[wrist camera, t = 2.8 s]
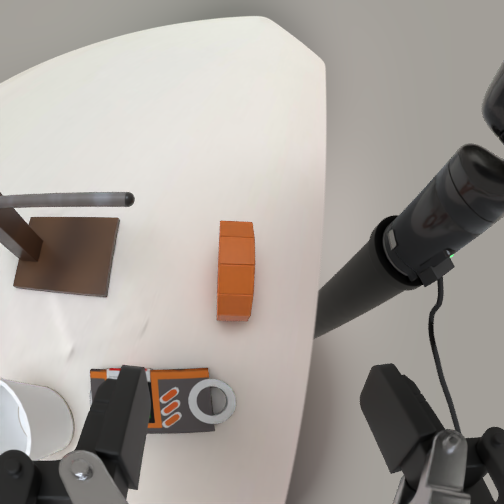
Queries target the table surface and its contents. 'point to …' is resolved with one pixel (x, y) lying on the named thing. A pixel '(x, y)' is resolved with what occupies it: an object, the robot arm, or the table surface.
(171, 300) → the table surface
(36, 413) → the mug
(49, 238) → the hook stand
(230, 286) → the tape roll
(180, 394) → the electronic device
